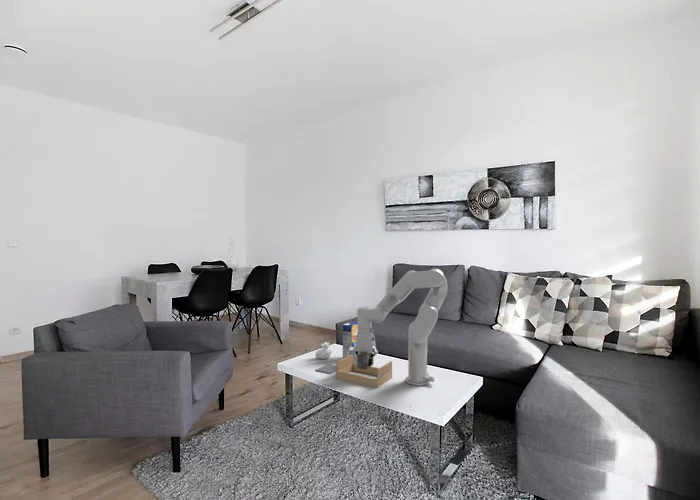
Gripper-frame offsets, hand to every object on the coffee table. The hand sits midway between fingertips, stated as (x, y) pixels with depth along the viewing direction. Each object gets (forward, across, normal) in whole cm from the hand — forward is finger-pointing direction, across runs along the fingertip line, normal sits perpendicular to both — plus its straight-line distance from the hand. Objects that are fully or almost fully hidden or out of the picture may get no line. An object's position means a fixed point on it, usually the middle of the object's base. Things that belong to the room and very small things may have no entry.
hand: (365, 364), depth 210 cm
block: (+1, 0, 0) cm, 1 cm away
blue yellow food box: (+7, +23, -25) cm, 34 cm away
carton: (+7, +1, 0) cm, 7 cm away
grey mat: (+7, +25, -2) cm, 26 cm away
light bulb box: (+7, +13, -15) cm, 21 cm away
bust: (+7, +39, -18) cm, 43 cm away
